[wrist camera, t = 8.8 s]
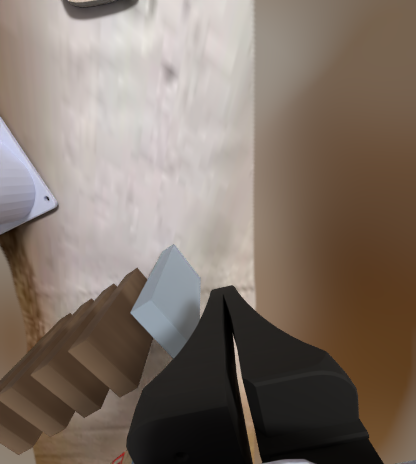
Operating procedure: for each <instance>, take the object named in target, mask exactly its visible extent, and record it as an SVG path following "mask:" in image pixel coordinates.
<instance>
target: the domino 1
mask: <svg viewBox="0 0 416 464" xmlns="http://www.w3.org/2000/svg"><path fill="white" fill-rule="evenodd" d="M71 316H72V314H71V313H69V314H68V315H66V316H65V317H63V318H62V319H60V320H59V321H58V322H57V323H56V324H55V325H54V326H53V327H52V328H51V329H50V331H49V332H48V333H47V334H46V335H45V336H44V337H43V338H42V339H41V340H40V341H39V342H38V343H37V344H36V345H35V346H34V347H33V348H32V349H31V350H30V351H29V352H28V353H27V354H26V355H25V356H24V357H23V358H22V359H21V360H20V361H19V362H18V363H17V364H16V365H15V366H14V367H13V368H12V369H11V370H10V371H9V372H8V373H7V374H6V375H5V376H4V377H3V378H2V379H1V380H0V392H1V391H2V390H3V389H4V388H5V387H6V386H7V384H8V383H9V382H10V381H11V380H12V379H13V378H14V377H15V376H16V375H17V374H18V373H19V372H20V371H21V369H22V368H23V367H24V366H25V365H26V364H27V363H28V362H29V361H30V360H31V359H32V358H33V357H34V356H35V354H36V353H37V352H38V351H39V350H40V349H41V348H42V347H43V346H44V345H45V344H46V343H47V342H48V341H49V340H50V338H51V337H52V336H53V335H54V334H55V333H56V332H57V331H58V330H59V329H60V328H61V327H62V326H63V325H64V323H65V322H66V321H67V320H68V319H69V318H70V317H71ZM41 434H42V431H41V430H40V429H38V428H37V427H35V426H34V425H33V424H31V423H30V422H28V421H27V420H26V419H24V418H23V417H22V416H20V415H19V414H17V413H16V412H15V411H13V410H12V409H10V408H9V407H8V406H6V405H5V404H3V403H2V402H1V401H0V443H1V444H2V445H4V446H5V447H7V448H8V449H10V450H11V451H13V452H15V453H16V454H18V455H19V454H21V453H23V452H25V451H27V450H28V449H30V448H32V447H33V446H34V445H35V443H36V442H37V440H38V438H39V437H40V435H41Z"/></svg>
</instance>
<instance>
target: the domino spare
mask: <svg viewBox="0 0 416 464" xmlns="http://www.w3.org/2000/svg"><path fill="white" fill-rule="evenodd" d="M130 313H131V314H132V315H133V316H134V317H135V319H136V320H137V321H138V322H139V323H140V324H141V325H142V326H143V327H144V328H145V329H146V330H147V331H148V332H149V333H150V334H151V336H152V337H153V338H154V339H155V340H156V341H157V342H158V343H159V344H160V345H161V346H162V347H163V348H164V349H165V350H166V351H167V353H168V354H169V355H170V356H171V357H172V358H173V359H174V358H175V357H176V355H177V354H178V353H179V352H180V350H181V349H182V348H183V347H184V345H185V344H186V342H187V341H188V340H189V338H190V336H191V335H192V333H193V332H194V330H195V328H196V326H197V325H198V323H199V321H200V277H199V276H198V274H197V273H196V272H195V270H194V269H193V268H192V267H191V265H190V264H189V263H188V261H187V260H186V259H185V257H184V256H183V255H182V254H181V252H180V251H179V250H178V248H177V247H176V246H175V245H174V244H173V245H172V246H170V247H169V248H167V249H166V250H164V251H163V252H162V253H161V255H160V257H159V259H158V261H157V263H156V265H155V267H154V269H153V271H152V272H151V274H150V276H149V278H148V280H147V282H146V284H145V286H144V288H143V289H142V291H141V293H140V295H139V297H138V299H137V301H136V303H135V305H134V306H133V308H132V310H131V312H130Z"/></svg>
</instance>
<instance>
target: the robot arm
mask: <svg viewBox="0 0 416 464" xmlns="http://www.w3.org/2000/svg"><path fill="white" fill-rule="evenodd" d="M47 197H49V201H48V200H47ZM57 205H58V203H57V201H56V199H55V198H54V196H53V195H52V193H51V192H50V190H49V189H48V187H47V186H46V184H45V183H44V181H43V180H42V178H41V177H40V175H39V174H38V172H37V171H36V169H35V168H34V166H33V165H32V163H31V162H30V160H29V159H28V157H27V156H26V154H25V153H24V151H23V150H22V148H21V147H20V145H19V144H18V142H17V141H16V139H15V138H14V136H13V135H12V133H11V132H10V130H9V129H8V127H7V126H6V124H5V123H4V121H3V120H2V118H1V117H0V235H1V234H3V233H5V232H7V231H9V230H11V229H13V228H15V227H17V226H19V225H21V224H23V223H25V222H27V221H29V220H32V219H34V218H36V217H38V216H40V215H42V214H44V213H46V212H48V211H50V210H52V209H54V208H56V207H57ZM233 336H234V339H235V342H236V346H237V350H238V356H239V362H240V368H241V374H242V380H243V384H244V388H245V392H246V396H247V400H248V404H249V408H250V412H251V416H252V420H253V424H254V428H255V433H256V438H257V443H258V447H259V452H260V457H261V460H262V464H384V463H383V462H382V460H381V458H380V457H379V455H378V454H377V452H376V451H375V449H374V447H373V446H372V444H371V443H370V441H369V439H368V438H369V434H368V432H367V430H366V429H365V427H364V426H363V424H362V422H361V421H360V419H359V412H358V394H357V389H356V387H355V385H354V384H353V383H352V381H351V379H350V378H349V377H348V375H347V374H346V373H345V371H344V370H343V369H342V368H341V367H340V366H339V364H338V363H337V362H336V361H335V360H334V359H333V358H332V357H331V356H330V355H329V354H328V353H327V352H326V351H324V350H321V349H319V348H317V347H314V346H312V345H309V344H307V343H304V342H302V341H300V340H298V339H296V338H294V337H292V336H290V335H289V334H287V333H285V332H284V331H282V330H280V329H278V328H277V327H275V326H274V325H272V324H271V323H270V322H268V321H267V320H266V319H264V318H263V317H262V316H260V315H259V314H258V313H257V312H256V311H255V310H254V309H253V308H252V307H251V306H250V305H249V304H248V303H247V302H246V301H245V300H244V299H243V298H242V297H241V295H240V294H239V293H238V291H237V290H236V288H235V287H234V286H233V285H231V286H227V287H222V288H218V289H213V290H212V291H211V293H210V297H209V300H208V303H207V305H206V308H205V310H204V312H203V315H202V317H201V319H200V321H199V323H198V325H197V326H196V328H195V330H194V332H193V333H192V335H191V336H190V338H189V340H188V341H187V342H186V344H185V345H184V347H183V348H182V349H181V350H180V352H179V353H178V354H177V355H176V357H175V358H174V359H173V360H172V361H171V362H170V363H169V364H168V365H167V367H166V368H165V369H164V370H163V371H162V372H161V373H160V374H159V375H158V376H156V377H155V378H154V379H153V380H152V381H151V382H150V383H149V384H148V385H147V386H146V387H145V388H143V390H142V393H141V396H140V398H139V401H138V403H137V406H136V409H135V412H134V416H133V419H132V423H131V426H130V429H129V433H128V436H127V445H126V447H127V450H128V453H129V455H130V457H131V459H132V461H133V463H134V464H253V462H252V457H251V452H250V446H249V441H248V435H247V430H246V425H245V419H244V414H243V408H242V403H241V397H240V392H239V386H238V380H237V373H236V363H235V352H234V342H233ZM397 464H416V460H413V461H408V462H402V463H397Z"/></svg>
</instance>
